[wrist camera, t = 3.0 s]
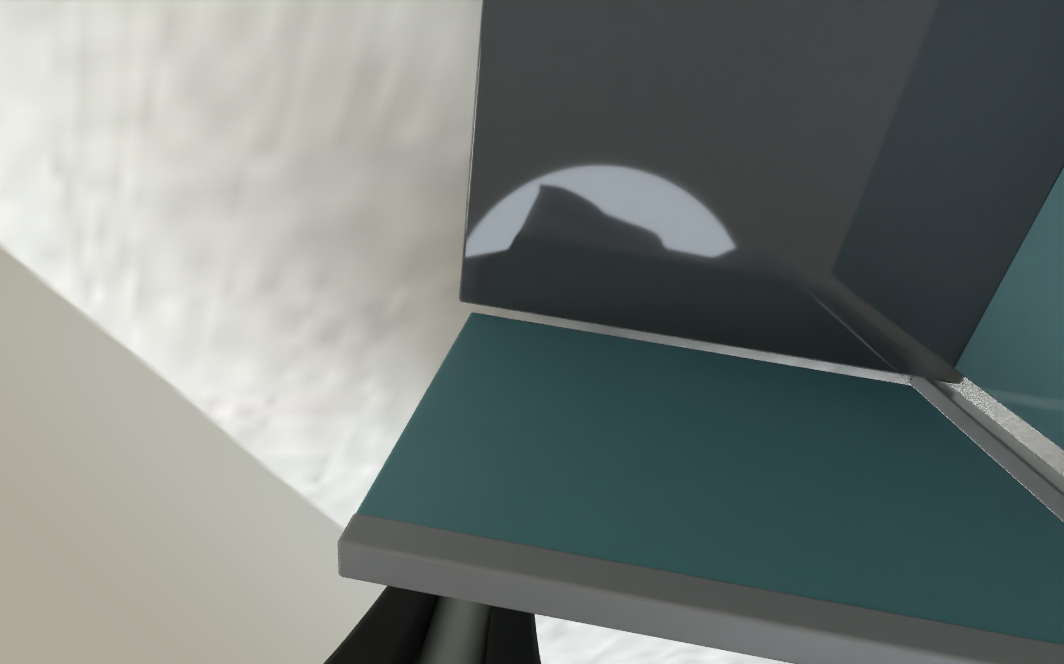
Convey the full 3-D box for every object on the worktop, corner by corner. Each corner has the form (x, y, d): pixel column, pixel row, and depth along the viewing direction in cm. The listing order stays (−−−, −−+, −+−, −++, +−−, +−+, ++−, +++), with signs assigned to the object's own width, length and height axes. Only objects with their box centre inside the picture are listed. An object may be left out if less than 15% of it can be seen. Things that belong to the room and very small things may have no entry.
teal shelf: (826, 549, 14) (1026, 933, 8) (455, 483, 15) (344, 790, 8) (913, 383, 12) (1297, 723, 5) (471, 309, 12) (335, 541, 6)
